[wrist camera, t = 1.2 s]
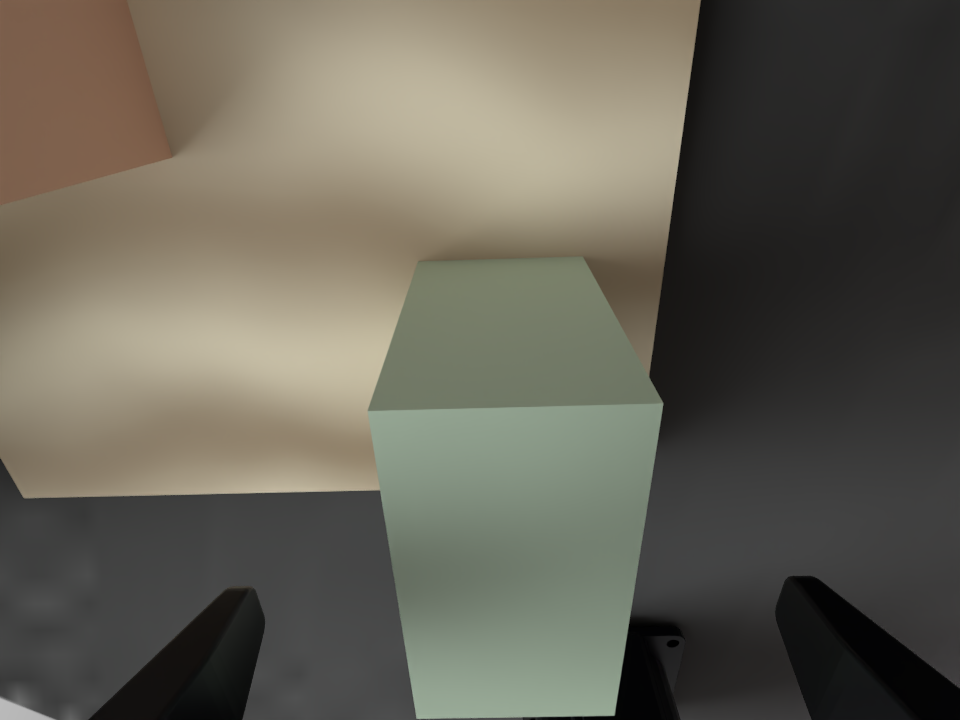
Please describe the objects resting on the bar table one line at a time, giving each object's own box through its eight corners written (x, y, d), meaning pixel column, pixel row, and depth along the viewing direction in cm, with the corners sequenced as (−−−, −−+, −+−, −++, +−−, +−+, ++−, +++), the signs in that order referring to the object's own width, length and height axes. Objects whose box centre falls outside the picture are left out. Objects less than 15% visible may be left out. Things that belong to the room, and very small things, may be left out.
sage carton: (584, 255, 13) (667, 403, 7) (569, 491, 16) (617, 715, 11) (415, 261, 13) (363, 411, 7) (437, 494, 17) (414, 719, 11)
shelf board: (622, 453, 18) (647, 520, 15) (57, 466, 18) (-16, 534, 15) (696, -167, 10) (770, -248, 8) (-252, -124, 11) (-492, -188, 8)
